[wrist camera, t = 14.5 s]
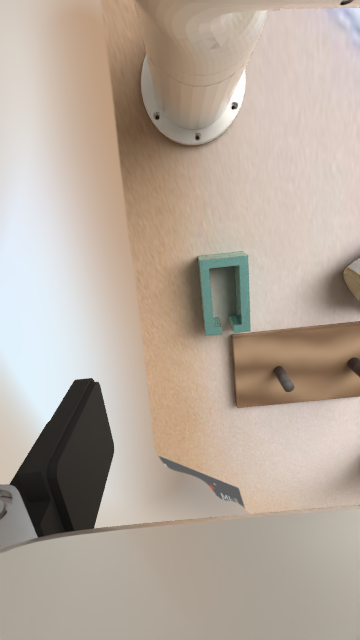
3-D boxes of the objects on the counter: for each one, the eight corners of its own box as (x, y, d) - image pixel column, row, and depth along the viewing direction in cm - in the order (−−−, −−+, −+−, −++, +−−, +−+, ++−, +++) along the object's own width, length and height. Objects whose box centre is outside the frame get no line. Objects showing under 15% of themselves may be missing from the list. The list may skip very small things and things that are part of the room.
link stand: (231, 334, 49) (256, 393, 33) (371, 320, 48) (462, 373, 33) (235, 402, 53) (258, 482, 38) (363, 390, 53) (440, 466, 37)
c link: (197, 256, 45) (199, 260, 41) (242, 251, 44) (248, 255, 41) (203, 325, 48) (205, 335, 45) (244, 321, 48) (250, 331, 44)
